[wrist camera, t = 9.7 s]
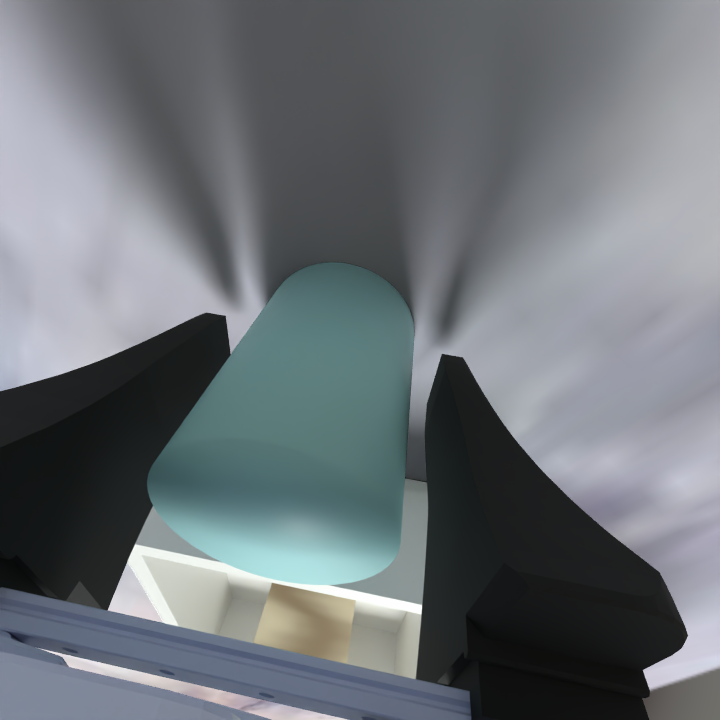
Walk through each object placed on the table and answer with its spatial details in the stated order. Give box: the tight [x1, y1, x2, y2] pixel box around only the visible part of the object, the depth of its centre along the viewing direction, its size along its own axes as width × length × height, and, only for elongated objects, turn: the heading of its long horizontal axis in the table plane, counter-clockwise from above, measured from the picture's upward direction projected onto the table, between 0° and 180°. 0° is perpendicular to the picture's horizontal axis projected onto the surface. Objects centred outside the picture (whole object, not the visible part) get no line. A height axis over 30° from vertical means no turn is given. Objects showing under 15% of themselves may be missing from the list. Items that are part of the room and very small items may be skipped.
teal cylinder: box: [147, 262, 414, 585], centre depth 10 cm, size 5×5×7 cm
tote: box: [127, 478, 428, 679], centre depth 21 cm, size 14×18×5 cm
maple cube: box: [253, 583, 356, 664], centre depth 23 cm, size 5×5×5 cm
